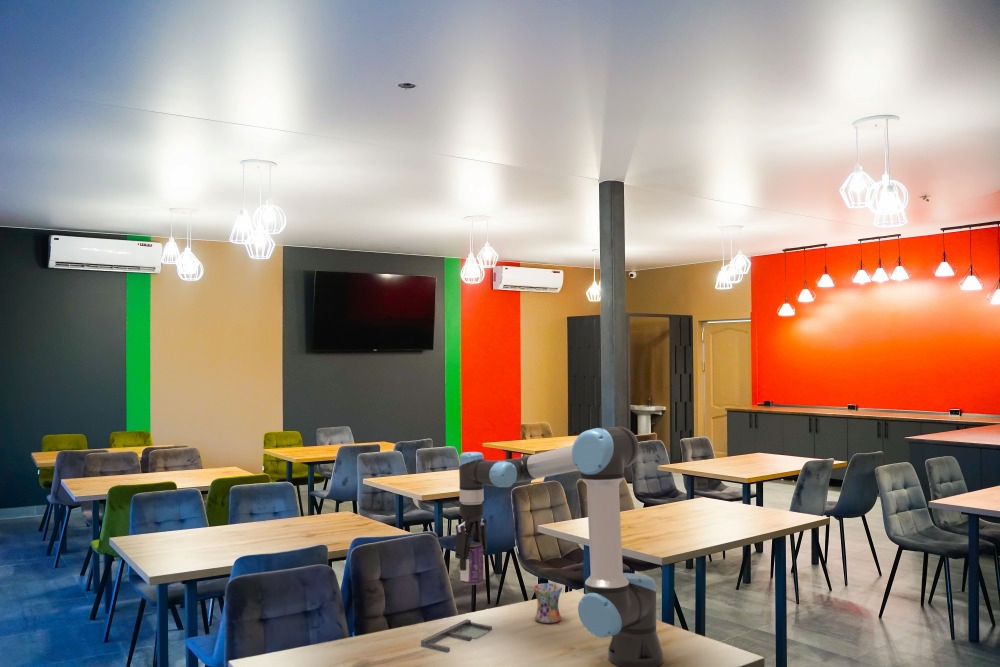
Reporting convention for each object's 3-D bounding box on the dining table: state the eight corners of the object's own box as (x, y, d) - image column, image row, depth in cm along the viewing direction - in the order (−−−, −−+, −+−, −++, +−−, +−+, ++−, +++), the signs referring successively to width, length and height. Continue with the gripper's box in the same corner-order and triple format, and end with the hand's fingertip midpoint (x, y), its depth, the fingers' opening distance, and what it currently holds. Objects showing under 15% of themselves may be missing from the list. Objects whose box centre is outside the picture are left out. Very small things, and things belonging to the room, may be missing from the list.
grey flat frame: (493, 629, 238) (493, 624, 238) (448, 652, 218) (448, 646, 218) (466, 624, 243) (466, 619, 243) (421, 646, 224) (421, 640, 224)
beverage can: (456, 581, 237) (456, 542, 238) (477, 578, 240) (477, 540, 241) (465, 587, 231) (465, 546, 231) (487, 584, 234) (486, 544, 234)
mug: (562, 625, 242) (562, 591, 243) (533, 625, 242) (533, 591, 243) (561, 613, 254) (561, 581, 255) (533, 613, 254) (533, 580, 255)
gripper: (479, 497, 247) (479, 569, 246) (442, 506, 230) (442, 583, 229) (498, 499, 243) (499, 572, 242) (463, 508, 226) (463, 587, 225)
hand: (471, 577), depth 235 cm, fingers closed on beverage can, 7 cm apart
